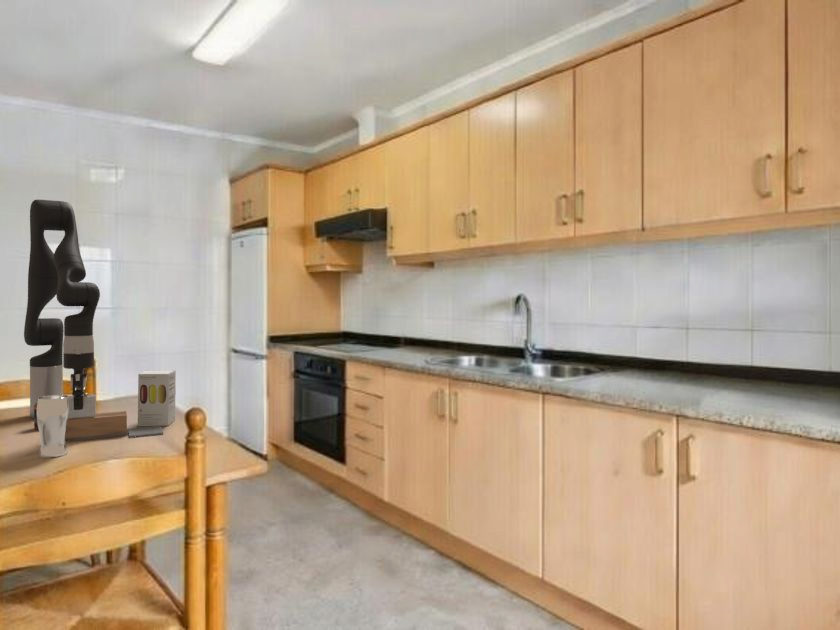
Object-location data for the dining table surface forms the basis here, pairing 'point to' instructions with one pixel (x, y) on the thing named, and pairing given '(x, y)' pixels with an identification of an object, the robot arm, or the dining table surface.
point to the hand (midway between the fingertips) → (79, 407)
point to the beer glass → (53, 424)
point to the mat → (145, 431)
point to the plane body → (97, 426)
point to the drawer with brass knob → (88, 407)
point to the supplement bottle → (35, 416)
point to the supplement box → (156, 397)
